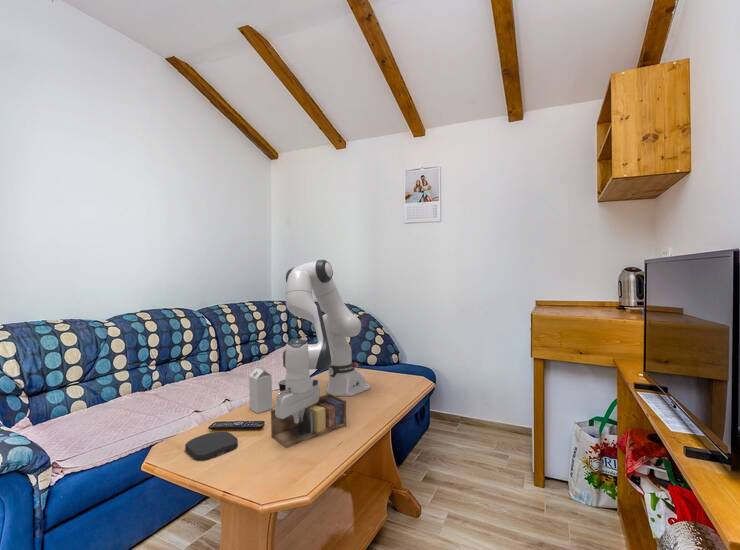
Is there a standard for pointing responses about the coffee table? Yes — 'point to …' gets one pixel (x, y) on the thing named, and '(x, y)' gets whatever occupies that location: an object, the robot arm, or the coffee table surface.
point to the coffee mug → (282, 385)
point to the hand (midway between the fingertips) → (298, 422)
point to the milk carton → (260, 390)
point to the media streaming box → (211, 445)
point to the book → (318, 418)
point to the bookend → (304, 425)
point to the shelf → (333, 420)
